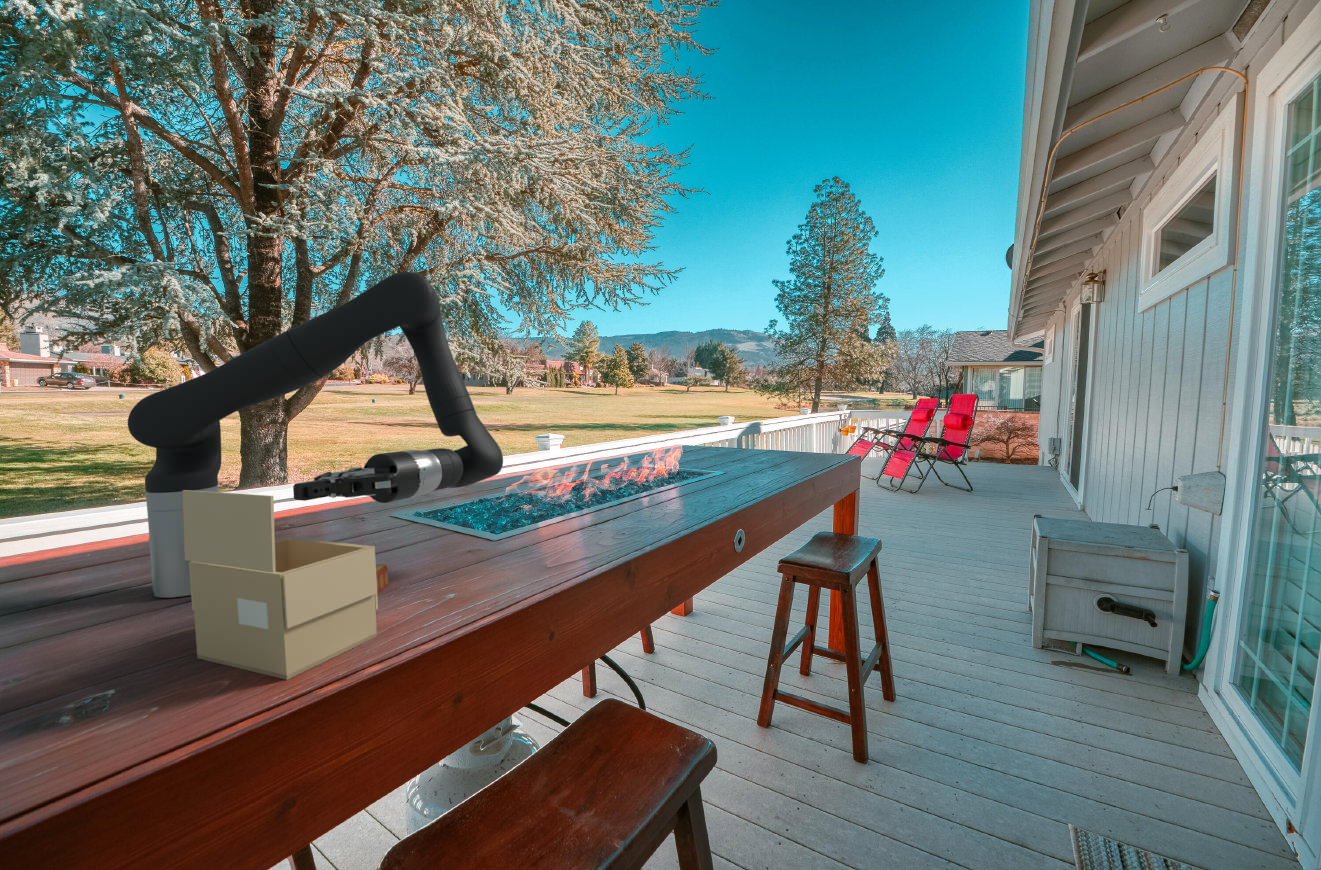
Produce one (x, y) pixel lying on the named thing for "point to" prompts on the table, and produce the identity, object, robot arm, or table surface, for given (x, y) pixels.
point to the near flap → (229, 529)
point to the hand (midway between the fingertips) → (297, 492)
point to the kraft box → (286, 607)
